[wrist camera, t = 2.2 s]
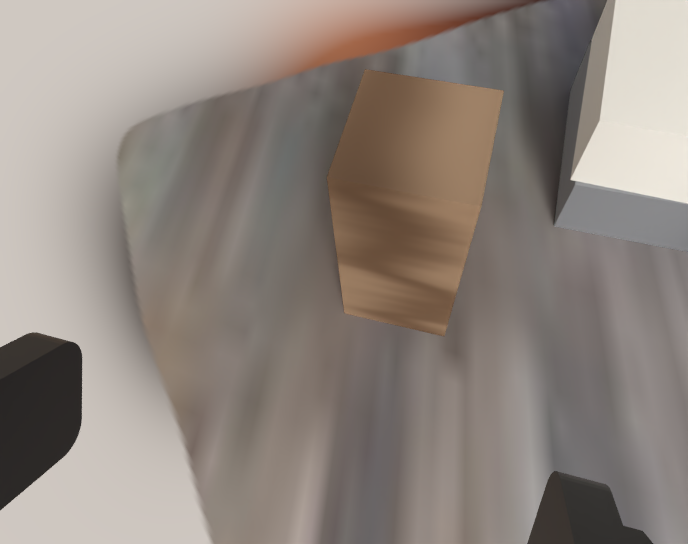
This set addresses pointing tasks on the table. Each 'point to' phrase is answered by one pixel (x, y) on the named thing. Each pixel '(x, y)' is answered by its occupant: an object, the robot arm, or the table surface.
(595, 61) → the tower top slab
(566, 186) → the tower base slab
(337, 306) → the table surface
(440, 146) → the walnut block
